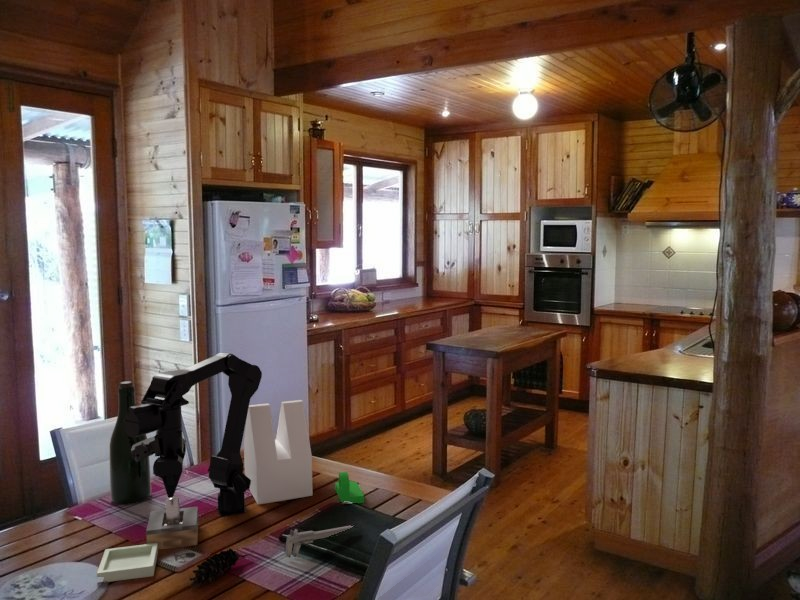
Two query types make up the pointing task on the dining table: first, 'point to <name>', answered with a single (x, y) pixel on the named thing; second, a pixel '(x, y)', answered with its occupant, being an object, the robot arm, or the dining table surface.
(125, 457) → the dark green wine bottle
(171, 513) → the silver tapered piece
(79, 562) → the dining table surface
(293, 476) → the white notched block
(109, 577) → the tray
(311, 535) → the caliper
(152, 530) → the block
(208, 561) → the pine cone
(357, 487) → the mechanical part
